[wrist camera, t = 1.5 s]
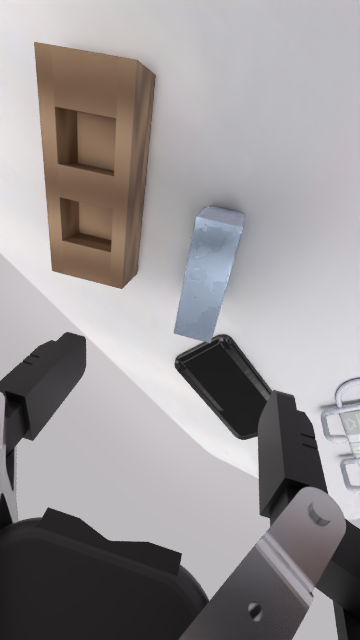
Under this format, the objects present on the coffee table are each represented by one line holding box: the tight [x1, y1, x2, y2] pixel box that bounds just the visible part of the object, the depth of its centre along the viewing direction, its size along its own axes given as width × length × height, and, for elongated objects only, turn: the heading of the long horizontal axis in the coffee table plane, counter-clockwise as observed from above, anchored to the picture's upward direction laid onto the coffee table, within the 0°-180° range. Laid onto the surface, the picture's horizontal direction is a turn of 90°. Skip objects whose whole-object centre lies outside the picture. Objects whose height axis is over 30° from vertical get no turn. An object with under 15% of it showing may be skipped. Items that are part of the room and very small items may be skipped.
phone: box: [175, 334, 272, 440], centre depth 34 cm, size 8×1×15 cm
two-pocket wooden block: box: [34, 42, 155, 289], centre depth 24 cm, size 16×7×4 cm, turn 171°
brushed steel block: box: [174, 206, 245, 343], centre depth 23 cm, size 9×3×8 cm, turn 171°
